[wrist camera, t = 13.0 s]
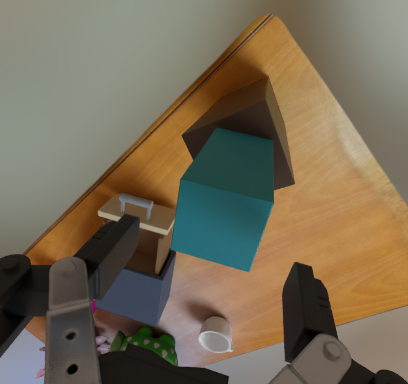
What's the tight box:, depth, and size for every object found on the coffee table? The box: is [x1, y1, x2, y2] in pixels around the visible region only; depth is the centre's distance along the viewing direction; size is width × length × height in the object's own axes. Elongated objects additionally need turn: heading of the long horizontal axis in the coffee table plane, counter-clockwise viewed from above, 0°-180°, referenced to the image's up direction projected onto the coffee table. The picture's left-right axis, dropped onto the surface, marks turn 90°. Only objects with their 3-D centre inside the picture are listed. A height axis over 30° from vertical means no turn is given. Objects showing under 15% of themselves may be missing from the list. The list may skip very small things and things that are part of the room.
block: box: [170, 127, 274, 272], centre depth 20 cm, size 5×5×11 cm
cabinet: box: [95, 250, 176, 327], centre depth 62 cm, size 15×15×9 cm
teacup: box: [199, 316, 234, 353], centre depth 67 cm, size 10×8×5 cm
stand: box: [182, 77, 295, 190], centre depth 34 cm, size 8×8×22 cm
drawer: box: [98, 193, 176, 276], centre depth 55 cm, size 18×14×7 cm
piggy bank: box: [109, 326, 178, 366], centre depth 71 cm, size 14×18×15 cm
